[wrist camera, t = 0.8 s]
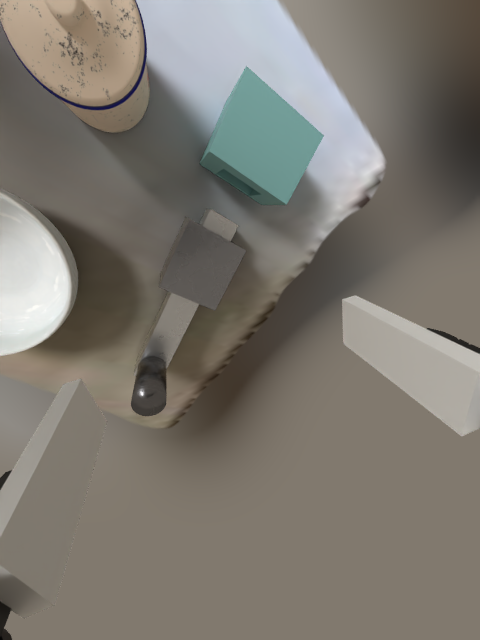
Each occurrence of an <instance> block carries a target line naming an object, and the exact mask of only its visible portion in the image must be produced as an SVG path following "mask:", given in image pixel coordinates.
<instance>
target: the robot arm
mask: <svg viewBox="0 0 480 640" xmlns="http://www.w3.org/2000/svg"><path fill="white" fill-rule="evenodd" d="M342 309H343V310H342V312H343V344H344V345H346V346H347V347H348V348H350V349H351V350H352V351H353V352H355V353H356V354H357V355H359V356H360V357H361V358H362V359H364V360H365V361H366V362H367V363H369V364H370V365H371V366H373V367H374V368H375V369H376V370H378V371H379V372H380V373H382V374H383V375H384V376H385V377H387V378H388V379H389V380H391V381H392V382H393V383H394V384H396V385H397V386H398V387H399V388H401V389H402V390H403V391H404V392H406V393H407V394H408V395H410V396H411V397H412V398H413V399H415V400H416V401H417V402H419V403H420V404H421V405H422V406H424V407H425V408H426V409H428V410H429V411H430V412H431V413H433V414H434V415H435V416H437V417H438V418H439V419H440V420H442V421H443V422H444V423H445V424H447V425H448V426H449V427H451V428H452V429H453V430H454V431H456V432H457V433H458V434H459V435H461V436H463V435H465V434H468V433H470V432H473V431H475V430H477V429H480V348H478V347H476V346H474V345H469V344H468V343H467V342H465V341H463V340H461V339H460V340H458V339H457V338H456V337H454V336H452V335H450V334H447V333H445V332H442V331H438V330H434V329H430V328H427V329H425V328H423V327H421V326H419V325H417V324H415V323H412V322H410V321H408V320H406V319H404V318H402V317H400V316H398V315H395V314H393V313H391V312H389V311H387V310H385V309H383V308H381V307H379V306H377V305H374V304H372V303H370V302H368V301H366V300H364V299H362V298H360V297H358V296H352V297H348V298H345V299H342ZM106 425H107V421H106V419H105V417H104V415H103V414H102V412H101V410H100V409H99V407H98V405H97V404H96V402H95V400H94V399H93V397H92V395H91V394H90V392H89V390H88V389H87V387H86V385H85V384H84V382H83V381H82V379H78V380H75V381H72V382H68V383H65V384H63V386H62V387H61V389H60V391H59V392H58V394H57V396H56V398H55V399H54V401H53V403H52V404H51V406H50V408H49V409H48V411H47V413H46V414H45V416H44V418H43V419H42V421H41V423H40V425H39V426H38V428H37V429H36V431H35V433H34V435H33V436H32V438H31V440H30V441H29V443H28V445H27V446H26V448H25V450H24V452H23V453H22V455H21V457H20V458H19V460H18V461H17V463H16V465H15V467H14V468H13V470H11V471H8V472H5V474H4V475H3V476H2V477H1V478H0V640H12V638H11V635H10V634H9V633H8V632H7V630H6V629H4V626H5V624H6V621H7V619H8V616H9V614H10V611H13V612H15V613H16V614H18V615H19V616H21V617H22V618H27V617H29V616H31V615H34V614H36V613H39V612H41V611H43V610H46V609H48V608H51V607H53V606H55V603H56V599H57V596H58V592H59V588H60V585H61V581H62V578H63V575H64V571H65V568H66V564H67V561H68V557H69V554H70V550H71V547H72V543H73V540H74V536H75V533H76V529H77V526H78V522H79V519H80V515H81V512H82V508H83V505H84V501H85V498H86V494H87V491H88V487H89V484H90V480H91V477H92V474H93V470H94V467H95V463H96V459H97V456H98V453H99V448H100V446H101V442H102V439H103V435H104V432H105V428H106Z"/></svg>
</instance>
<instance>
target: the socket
mask: <svg viewBox="0 0 480 640" xmlns="http://www.w3.org/2000/svg"><path fill="white" fill-rule="evenodd" d="M323 136H324V135H323V134H321V133H320V132H319V131H318V130H317V129H316V128H315V127H314V126H313V125H311V124H310V123H309V122H308V121H307V120H306V119H305V118H304V117H303V116H301V115H300V114H299V113H298V112H297V111H296V110H295V109H294V108H293V107H291V106H290V105H289V104H288V103H287V102H286V101H285V100H284V99H282V98H281V97H280V96H279V95H278V94H277V93H276V92H275V91H274V90H272V89H271V88H270V87H269V86H268V85H267V84H266V83H265V82H264V81H262V80H261V79H260V78H259V77H258V76H257V75H256V74H255V73H254V72H252V71H251V70H250V69H249V68H248V67H247V66H246V68H245V69H244V71H243V73H242V75H241V77H240V78H239V80H238V82H237V84H236V85H235V87H234V89H233V91H232V92H231V94H230V96H229V98H228V99H227V101H226V104H225V106H224V108H223V111H222V113H221V115H220V117H219V120H218V122H217V124H216V127H215V129H214V131H213V134H212V136H211V138H210V140H209V143H208V145H207V147H206V150H205V152H204V154H203V157H202V159H201V161H200V163H199V164H200V165H202V166H203V167H205V168H206V169H208V170H209V171H211V172H212V173H214V174H215V175H217V176H218V177H220V178H221V179H223V180H225V181H226V182H228V183H229V184H231V185H232V186H234V187H235V188H237V189H238V190H240V191H241V192H243V193H244V194H246V195H247V196H249V197H250V198H252V199H253V200H255V201H256V202H258V203H259V204H261V205H287V203H288V201H289V199H290V198H291V196H292V194H293V192H294V190H295V188H296V186H297V185H298V183H299V181H300V179H301V177H302V175H303V173H304V172H305V170H306V168H307V166H308V164H309V162H310V160H311V159H312V157H313V155H314V153H315V151H316V149H317V147H318V146H319V144H320V142H321V140H322V138H323Z"/></svg>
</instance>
